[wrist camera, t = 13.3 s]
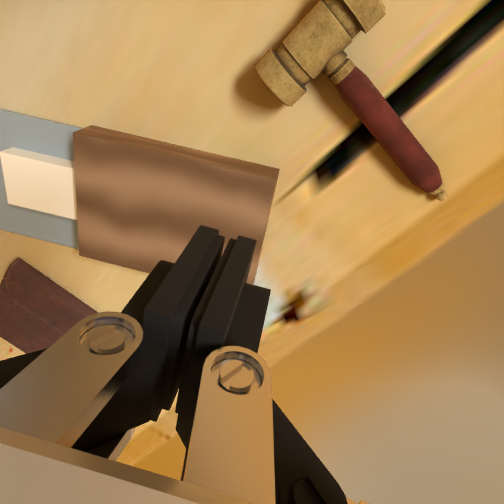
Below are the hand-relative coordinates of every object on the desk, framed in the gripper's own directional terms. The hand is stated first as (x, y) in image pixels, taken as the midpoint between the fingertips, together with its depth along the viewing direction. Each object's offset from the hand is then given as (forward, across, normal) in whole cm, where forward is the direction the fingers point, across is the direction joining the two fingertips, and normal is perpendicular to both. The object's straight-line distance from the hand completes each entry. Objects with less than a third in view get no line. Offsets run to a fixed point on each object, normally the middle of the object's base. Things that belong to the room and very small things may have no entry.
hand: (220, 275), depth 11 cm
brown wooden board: (+28, +10, +13) cm, 33 cm away
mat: (+28, +26, +14) cm, 41 cm away
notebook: (+29, +24, +37) cm, 53 cm away
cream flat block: (+28, +24, +14) cm, 39 cm away
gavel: (+29, -7, -2) cm, 30 cm away
